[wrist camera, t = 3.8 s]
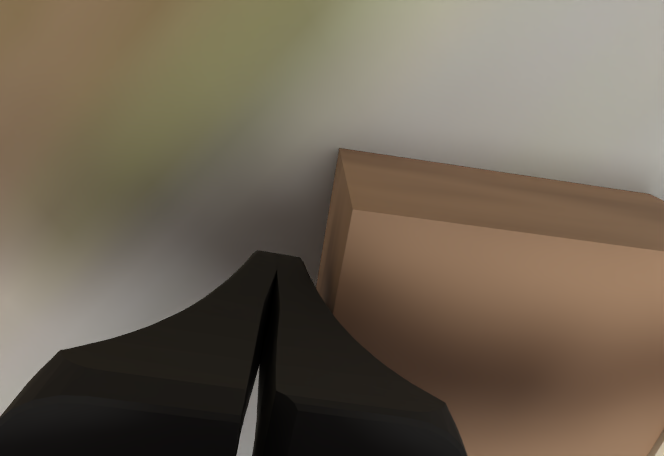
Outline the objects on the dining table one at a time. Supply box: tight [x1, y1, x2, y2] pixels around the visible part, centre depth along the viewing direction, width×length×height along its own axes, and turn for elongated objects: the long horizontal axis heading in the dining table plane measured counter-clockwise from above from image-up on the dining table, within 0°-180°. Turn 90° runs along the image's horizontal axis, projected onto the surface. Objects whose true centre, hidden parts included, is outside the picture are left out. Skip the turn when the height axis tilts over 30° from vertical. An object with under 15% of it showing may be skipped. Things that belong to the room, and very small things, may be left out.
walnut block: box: [316, 148, 664, 456], centre depth 13 cm, size 8×10×5 cm
